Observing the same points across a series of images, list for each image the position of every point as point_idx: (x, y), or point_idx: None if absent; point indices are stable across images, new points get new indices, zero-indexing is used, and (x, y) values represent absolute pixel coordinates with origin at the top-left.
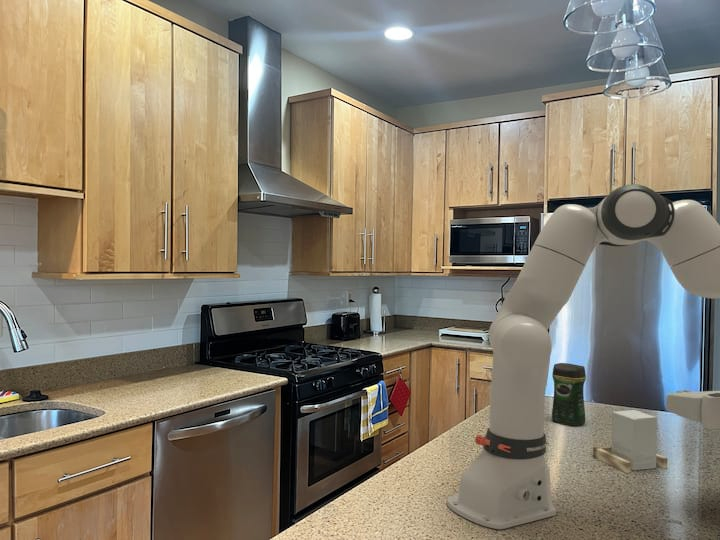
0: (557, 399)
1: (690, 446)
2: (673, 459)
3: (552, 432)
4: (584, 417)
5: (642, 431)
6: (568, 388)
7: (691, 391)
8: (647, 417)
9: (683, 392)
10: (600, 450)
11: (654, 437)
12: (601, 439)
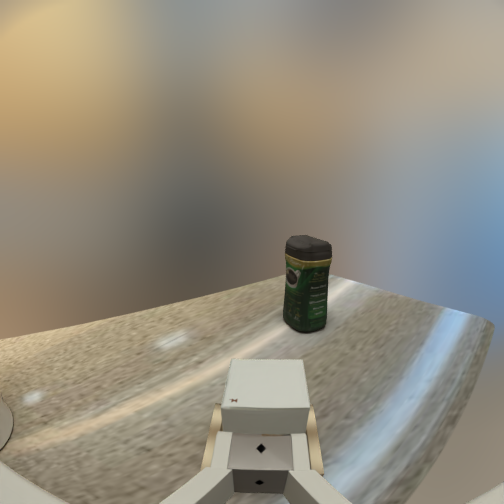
0: (286, 290)
1: (437, 397)
2: (370, 448)
3: (248, 340)
4: (321, 320)
5: (251, 433)
6: (295, 276)
7: (303, 462)
8: (276, 405)
9: (49, 500)
10: (213, 416)
11: None
12: None
